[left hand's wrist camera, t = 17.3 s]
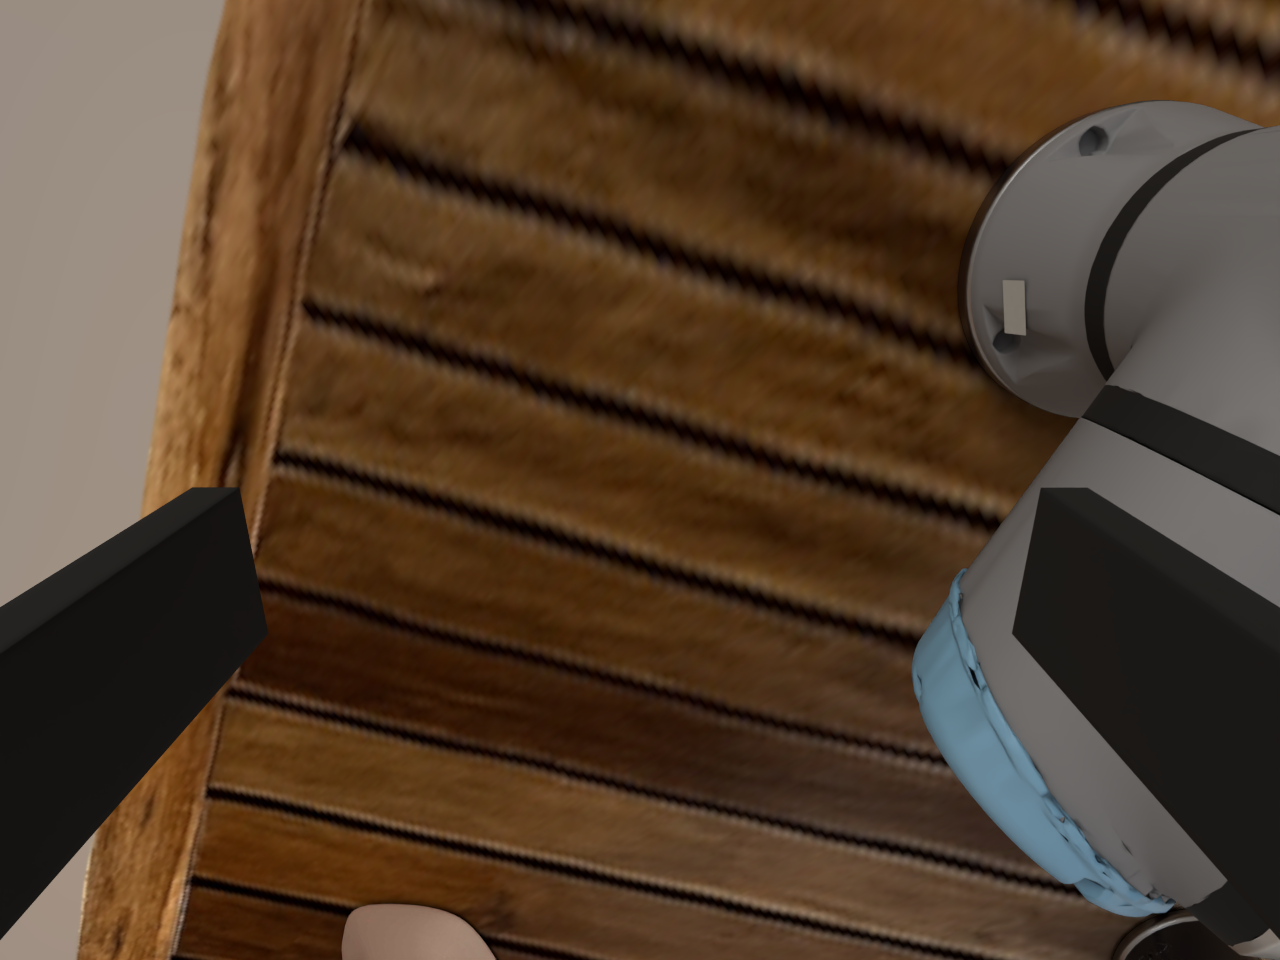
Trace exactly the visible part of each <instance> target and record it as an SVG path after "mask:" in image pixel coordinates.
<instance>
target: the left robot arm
mask: <svg viewBox="0 0 1280 960" xmlns="http://www.w3.org/2000/svg"><path fill="white" fill-rule="evenodd" d="M958 305H959V312H960V318H961V322H962V326H963V330H964V333H965V336H966V339H967V341H968V344H969V346H970V348H971V350H972V352H973V354H974V356H975V357H976V359H977V360H978V362H979V363H980V365H981V366H982V367H983V369H984V370H985V371H986V372H987V373H988V375H989V376H990V377H991V378H992V379H993V380H994V381H995V382H996V383H998V384H999V385H1000V386H1001V387H1003V388H1004V389H1005V390H1007V391H1008V392H1010V393H1011V394H1013V395H1015V396H1016V397H1018V398H1020V399H1022V400H1024V401H1026V402H1028V403H1030V404H1032V405H1034V406H1036V407H1038V408H1041V409H1043V410H1046V411H1049V412H1052V413H1055V414H1059V415H1063V416H1068V417H1076V418H1079V420H1078V421H1077V422H1076V424H1075V425H1074V426H1073V428H1072V429H1071V430H1070V432H1069V433H1068V435H1067V436H1066V437H1065V439H1064V440H1063V441H1062V443H1061V444H1060V445H1059V447H1058V448H1057V449H1056V451H1055V452H1054V453H1053V455H1052V456H1051V457H1050V459H1049V460H1048V462H1047V463H1046V464H1045V466H1044V467H1043V468H1042V470H1041V471H1040V472H1039V474H1038V475H1037V476H1036V478H1035V479H1034V480H1033V482H1032V483H1031V484H1030V486H1029V487H1028V489H1027V490H1026V491H1025V493H1024V494H1023V495H1022V497H1021V498H1020V499H1019V501H1018V502H1017V503H1016V505H1015V506H1014V507H1013V509H1012V510H1011V511H1010V513H1009V514H1008V516H1007V517H1006V518H1005V520H1004V521H1003V522H1002V524H1001V525H1000V526H999V528H998V529H997V530H996V532H995V533H994V534H993V536H992V537H991V538H990V540H989V541H988V543H987V544H986V545H985V547H984V548H983V549H982V551H981V552H980V553H979V555H978V556H977V557H976V559H975V560H974V561H973V563H972V564H971V565H970V567H969V568H968V569H962V570H961V571H960V572H959V573H958V574H957V575H956V577H955V578H954V580H953V582H952V584H951V588H950V594H949V596H948V598H947V599H946V601H945V602H944V604H943V605H942V607H941V608H940V610H939V611H938V613H937V614H936V616H935V618H934V619H933V621H932V622H931V624H930V625H929V627H928V628H927V630H926V631H925V633H924V634H923V636H922V638H921V639H920V641H919V642H918V645H917V647H916V650H915V653H914V657H913V662H912V681H913V685H914V692H915V695H916V697H917V700H918V702H919V706H920V712H921V714H922V718H923V720H924V722H925V724H926V727H927V729H928V731H929V732H930V734H931V736H932V738H933V740H934V742H935V744H936V745H937V747H938V749H939V751H940V752H941V754H942V755H943V757H944V759H945V760H946V762H947V763H948V765H949V766H950V768H951V769H952V770H953V772H954V773H955V775H956V776H957V777H958V779H959V780H960V782H961V783H962V784H963V785H964V787H965V788H966V789H967V791H968V792H969V793H970V794H971V796H972V797H973V798H974V799H975V800H976V802H977V803H978V804H979V805H980V806H981V808H982V809H983V810H984V811H985V812H986V813H987V815H988V816H989V817H990V818H991V819H992V820H993V821H994V822H995V823H996V824H997V825H998V827H999V828H1000V829H1001V830H1002V831H1003V832H1004V833H1005V834H1006V835H1007V836H1008V837H1009V838H1010V839H1011V840H1012V841H1013V842H1014V843H1015V844H1016V845H1017V846H1018V847H1019V848H1020V849H1021V850H1022V851H1023V852H1024V853H1025V854H1027V855H1028V856H1029V857H1030V858H1031V859H1032V860H1033V861H1035V862H1036V863H1037V864H1038V865H1039V866H1040V867H1042V868H1043V869H1044V870H1045V871H1047V872H1048V873H1049V874H1050V875H1052V876H1053V877H1054V878H1056V879H1057V880H1058V881H1060V882H1061V883H1064V884H1072V883H1073V884H1074V885H1075V886H1076V887H1077V888H1078V890H1079V891H1080V892H1081V893H1082V895H1083V896H1084V897H1085V898H1086V899H1087V900H1088V901H1090V902H1091V903H1093V904H1095V905H1097V906H1099V907H1101V908H1103V909H1105V910H1108V911H1110V912H1112V913H1115V914H1119V915H1122V916H1128V917H1142V916H1147V915H1149V914H1152V913H1166V912H1167V911H1168V910H1169V909H1170V908H1171V907H1172V906H1173V905H1174V904H1175V903H1176V902H1177V903H1179V904H1180V905H1181V906H1182V907H1184V908H1185V909H1186V910H1187V911H1189V912H1190V913H1191V914H1192V915H1193V916H1194V917H1195V918H1197V919H1198V920H1199V921H1200V922H1201V923H1202V924H1203V925H1205V926H1206V927H1207V928H1208V929H1209V930H1210V931H1211V932H1213V933H1214V934H1215V935H1216V936H1217V937H1218V938H1219V939H1221V940H1222V941H1223V942H1224V943H1225V944H1226V945H1227V946H1229V947H1230V948H1232V949H1233V950H1234V951H1236V952H1237V953H1238V954H1239V955H1244V956H1251V957H1258V958H1266V959H1273V960H1280V126H1274V127H1267V128H1264V127H1262V126H1259V125H1257V124H1254V123H1251V122H1249V121H1246V120H1243V119H1241V118H1238V117H1235V116H1233V115H1230V114H1227V113H1225V112H1222V111H1219V110H1217V109H1214V108H1211V107H1208V106H1204V105H1200V104H1195V103H1189V102H1179V101H1171V100H1152V101H1141V102H1134V103H1129V104H1124V105H1119V106H1115V107H1110V108H1105V109H1102V110H1098V111H1095V112H1092V113H1088V114H1086V115H1083V116H1081V117H1079V118H1076V119H1074V120H1071V121H1070V122H1068V123H1066V124H1064V125H1062V126H1060V127H1058V128H1056V129H1055V130H1053V131H1052V132H1050V133H1048V134H1047V135H1045V136H1044V137H1042V138H1041V139H1040V140H1038V141H1037V142H1036V143H1034V144H1033V145H1032V146H1030V147H1029V148H1028V149H1027V150H1026V151H1025V152H1024V153H1023V154H1021V155H1020V156H1019V157H1018V158H1017V159H1016V160H1015V161H1014V162H1013V163H1012V164H1011V165H1010V166H1009V167H1008V169H1007V170H1006V171H1005V172H1004V173H1003V174H1002V176H1001V177H1000V178H999V179H998V181H997V182H996V183H995V184H994V186H993V187H992V189H991V190H990V192H989V193H988V195H987V196H986V198H985V199H984V201H983V203H982V205H981V207H980V208H979V210H978V212H977V214H976V216H975V218H974V221H973V223H972V225H971V227H970V230H969V233H968V236H967V239H966V241H965V245H964V249H963V253H962V257H961V262H960V268H959V276H958ZM267 635H268V630H267V625H266V620H265V615H264V610H263V605H262V600H261V595H260V590H259V585H258V580H257V574H256V569H255V564H254V559H253V554H252V549H251V544H250V539H249V534H248V529H247V524H246V519H245V514H244V509H243V504H242V499H241V494H240V489H239V488H191V489H189V490H188V491H186V492H185V493H183V494H181V495H180V496H178V497H176V498H175V499H173V500H172V501H170V502H168V503H167V504H165V505H164V506H162V507H160V508H159V509H157V510H156V511H154V512H152V513H151V514H149V515H148V516H146V517H144V518H143V519H141V520H140V521H138V522H136V523H135V524H133V525H132V526H130V527H128V528H127V529H125V530H124V531H122V532H120V533H119V534H117V535H116V536H114V537H112V538H111V539H109V540H107V541H106V542H104V543H103V544H101V545H99V546H98V547H96V548H95V549H93V550H92V551H90V552H88V553H87V554H85V555H83V556H82V557H80V558H79V559H77V560H75V561H74V562H72V563H71V564H69V565H67V566H66V567H64V568H63V569H61V570H59V571H58V572H56V573H55V574H53V575H51V576H50V577H48V578H46V579H45V580H43V581H42V582H40V583H39V584H37V585H35V586H34V587H32V588H30V589H29V590H27V591H26V592H24V593H22V594H21V595H19V596H18V597H16V598H14V599H13V600H11V601H10V602H8V603H6V604H5V605H3V606H2V607H0V940H1V939H2V937H3V936H4V935H5V934H6V933H7V932H8V931H9V929H10V928H11V927H12V926H13V925H14V924H15V923H16V921H17V920H18V919H19V918H20V917H21V916H22V915H23V913H24V912H25V911H26V910H27V909H28V908H29V907H30V905H31V904H32V903H33V902H34V901H35V900H36V899H37V897H38V896H39V895H40V894H41V893H42V892H43V891H44V889H45V888H46V887H47V886H48V885H49V884H50V883H51V881H52V880H53V879H54V878H55V877H56V876H57V875H58V873H59V872H60V871H61V870H62V869H63V868H64V867H65V865H66V864H67V863H68V862H69V861H70V860H71V858H72V857H73V856H74V855H75V854H76V853H77V852H78V851H79V849H80V848H81V847H82V846H83V845H84V844H85V843H86V841H87V840H88V839H89V838H90V837H91V836H92V835H93V833H94V832H95V831H96V830H97V829H98V828H99V827H100V825H101V824H102V823H103V822H104V821H105V820H106V819H107V817H108V816H109V815H110V814H111V813H112V812H113V811H114V809H115V808H116V807H117V806H118V805H119V804H120V803H121V801H122V800H123V799H124V798H125V797H126V796H127V795H128V793H129V792H130V791H131V790H132V789H133V788H134V787H135V785H136V784H137V783H138V782H139V781H140V780H141V779H142V777H143V776H144V775H145V774H146V773H147V772H148V771H149V769H150V768H151V767H152V766H153V765H154V764H155V763H156V761H157V760H158V759H159V758H160V757H161V756H162V755H163V753H164V752H165V751H166V750H167V749H168V748H169V747H170V745H171V744H172V743H173V742H174V741H175V740H176V739H177V737H178V736H179V735H180V734H181V733H182V732H183V731H184V729H185V728H186V727H187V726H188V725H189V724H190V723H191V721H192V720H193V719H194V718H195V717H196V716H197V715H198V713H199V712H200V711H201V710H202V709H203V708H204V707H205V705H206V704H207V703H208V702H209V701H210V700H211V699H212V697H213V696H214V695H215V694H216V693H217V692H218V691H219V689H220V688H221V687H222V686H223V685H224V684H225V683H226V681H227V680H228V679H229V678H230V677H231V676H232V675H233V673H234V672H235V671H236V670H237V669H238V668H239V667H240V665H241V664H242V663H243V662H244V661H245V660H246V659H247V657H248V656H249V655H250V654H251V653H252V652H253V651H254V649H255V648H256V647H257V646H258V645H259V644H260V643H261V641H262V640H263V639H264V638H265V637H266V636H267Z"/></svg>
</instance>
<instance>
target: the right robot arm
mask: <svg viewBox="0 0 1280 960" xmlns="http://www.w3.org/2000/svg"><path fill="white" fill-rule="evenodd" d="M1113 960H1262V959H1261V958H1258V957H1251V956H1244V955H1239V954H1238V953H1237V952H1236V951H1234V950H1233V949H1232V948H1230V947H1229V946H1227V945H1226V944H1225V943H1224V942H1223V941H1222V940H1221V939H1219V938H1218V937H1217V936H1216V935H1215V934H1214V933H1213V932H1211V931H1210V930H1209V929H1208V928H1207V927H1206V926H1205V925H1203V924H1202V923H1201V922H1200V921H1199V920H1198V919H1197V918H1195V917H1194V916H1193V915H1192V914H1191V913H1190V912H1189V911H1187V910H1178V911H1173V912H1169V913H1165V914H1162V915H1159V916H1156V917H1154V918H1152V919H1150V920H1147V921H1146V922H1144V923H1142V924H1140V925H1139V926H1137V927H1136V928H1135V929H1133V930H1132V931H1131V932H1130V933H1129V934H1128V935H1127V936H1126V937H1125V938H1124V939H1123V940H1122V941H1121V943H1120V944H1119V945H1118V947H1117V949H1116V951H1115V953H1114V956H1113Z"/></svg>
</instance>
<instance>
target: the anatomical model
mask: <svg viewBox="0 0 1280 960" xmlns="http://www.w3.org/2000/svg"><path fill="white" fill-rule="evenodd" d="M342 959H343V960H496V958H495V957H494V955H493V954H492V952H491V951H490V949H489V948H488V946H487V945H486V943H485V942H484V941H483V939H482V938H481V937H480V936H479V935H478V933H477V932H476V931H475V930H474V929H473V928H472V927H471V926H470V925H469V924H468V923H467V922H465V921H464V920H462V919H461V918H459V917H457V916H456V915H454V914H451V913H449V912H447V911H443V910H440V909H436V908H431V907H426V906H418V905H407V904H374V905H367V906H362V907H359V908H357V909H355V910H354V911H353V912H352V913H351V914H350V915H349V917H348V919H347V922H346V925H345V929H344V935H343V941H342Z"/></svg>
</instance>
